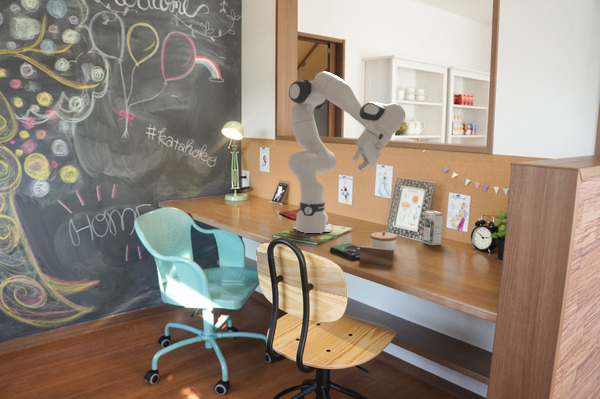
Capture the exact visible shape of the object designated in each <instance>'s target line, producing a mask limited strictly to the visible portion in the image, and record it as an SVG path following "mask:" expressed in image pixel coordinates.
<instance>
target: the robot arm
mask: <svg viewBox="0 0 600 399" xmlns="http://www.w3.org/2000/svg"><path fill="white" fill-rule="evenodd" d="M288 97H289V98H290V101H292V103H293V102H294V104H293V105H292V106H291V109H290V110H291V111H290V113H291V115H290V117H291V124H292V128H293V132H294V137H295V141H296V143H297V144H298V145H300V146H301V147H303V148H304V149H305V151H304V150H301V151H298V152H295V153H292V154H291V155H290V157H289V158H288V162H287V164H288V168H289V170H290V172H291V173H292V174H294V175H295V177H296V179H297V180H298V183H299V187H300V188H299V189H300V202H299V205H298V206H299V209H300V211H299V212H298V213H297V218H296V220H295V226H293V227H292V229H293V230H294V229H296V230H295V231H297V230H298V231H300V232H307V233H320V234H323V233H322V232H330V230H331V231H332V228H333V224H331V223H329V222H328V221H329V214H327V212H326V211H325V210H326V208H325V206H326V202H325V201H324V196H325V195H324V194H325V192H324V190H325V188H324V185H323V184H322V183H321V182H319V181H318V180H317V178H316V175H317V174H326V173H329V172H331V171H333V170H335V168H336V167H337V157H336V155H335V153H334V152H332V151H330V150H329V148H327V146H326V145H325V144H324V142H323V141H322V138H320V134H319V131H318V128H317V124H316V120H315V114H314V111H315V110H319V109H321V108H322V107H324V106H325V105H326V104H327V103H328V102H330V103H331V104H333V105H335V106H336V107H338V108H340V109H341V110H343V111H344V112H345V113H347V114H349V115H350V117H352V118H353V119H354V120H356V121H357V122H358V123H359V124H361V125H362V126H364V131H362V132H361V134H360V135H359V137H358V138H357V140H356V147H357V149H356V152H355V154H354V155H353V157H352V160H353V161H354V162H358V161H359V160H360V158H361V157H362V160H363V161H362V163H361V164H359V165H358V166H357V169H358V171H360V172H362V171H364V169H365V168H367V167H370V168H372V167H373V166H375V164H376V163H377V161H378V159H380V157H381V153H382V151H381V150H382V149H385V147H386V146H387V145H388V143H389V142H390V141H391V139H392V138H393V135H394V134H395V133H396V132H397V131H398V130H399V129H400V127H401V126H402V124H403V122H404V121H405V119H406V112H405V110H404V109H403V107H402V106H401V105H400V104H398V103H397V102H391V103H379V102H376V101H369V102H366V103H365V104H361V103H360V102H359V100H358V98H357V97H356V95H355V93H354V91H353V89H352V88H351V86H350V85H349V84H348V83H347V82H346V81H345V80H344V79H342V78H341V77H340V76H338V75H335V74H333V73H331V72H328V71H320V72H318V73H317V74H315V77H314V79H313V80H309V79H300V80H295V81H293V82H292V83H291V85H290V86H289V91H288ZM298 231H297V232H298ZM300 232H299V233H300ZM330 233H331V232H330Z"/></svg>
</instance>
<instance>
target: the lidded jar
mask: <svg viewBox="0 0 600 399" xmlns="http://www.w3.org/2000/svg"><path fill="white" fill-rule="evenodd" d="M369 237H370V241H369V242H370V246H372V247H382V248H392V249H394V250H395V249H396V246H397V242H398V241H397V240H398V235H397V234H396V233H392V232H387V231H385V230H382V231H377V232H372V233H370V235H369Z"/></svg>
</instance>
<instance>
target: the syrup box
mask: <svg viewBox="0 0 600 399" xmlns="http://www.w3.org/2000/svg"><path fill="white" fill-rule="evenodd" d="M424 213H425V214H424V225H423V239H422V243H423V244H427V245H429V246H437V245H441V244H442V235H443V234H442V233H443V220H444V219H443V218H444V212H440V211H437V210H427V211H425V212H424Z"/></svg>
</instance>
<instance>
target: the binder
mask: <svg viewBox="0 0 600 399" xmlns="http://www.w3.org/2000/svg"><path fill="white" fill-rule="evenodd" d="M299 211H300V208H298V209H292V210H287V211H282V212H279V215H281V216H283V217H286V218H288V219H291V220H292V221H296V218H297V213H298V212H299Z"/></svg>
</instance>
